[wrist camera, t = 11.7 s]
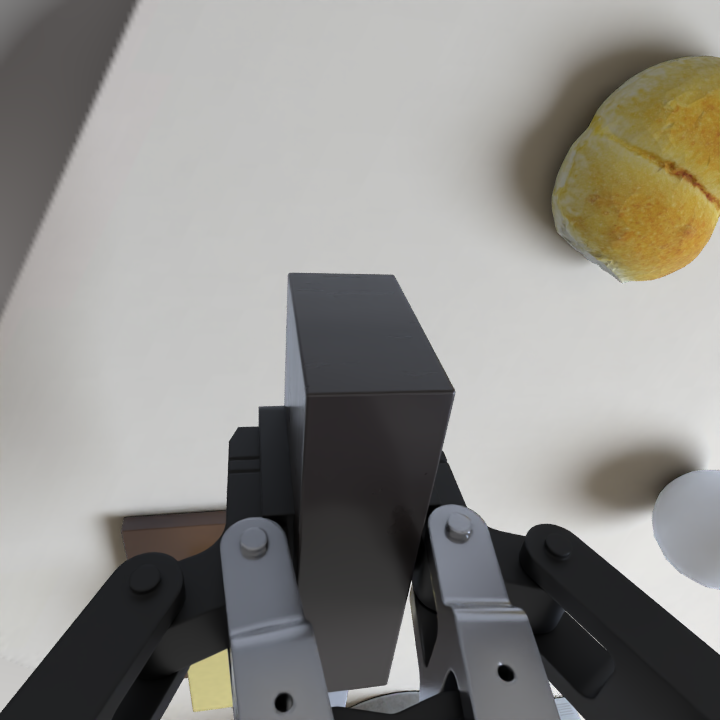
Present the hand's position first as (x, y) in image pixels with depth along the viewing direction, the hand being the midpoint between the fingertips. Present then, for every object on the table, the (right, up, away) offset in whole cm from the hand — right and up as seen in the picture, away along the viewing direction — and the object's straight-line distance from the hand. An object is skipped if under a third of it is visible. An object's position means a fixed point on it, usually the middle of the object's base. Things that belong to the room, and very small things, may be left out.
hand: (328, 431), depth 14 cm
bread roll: (+13, +10, +10) cm, 19 cm away
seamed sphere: (+24, -6, +23) cm, 34 cm away
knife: (0, -4, +3) cm, 5 cm away
